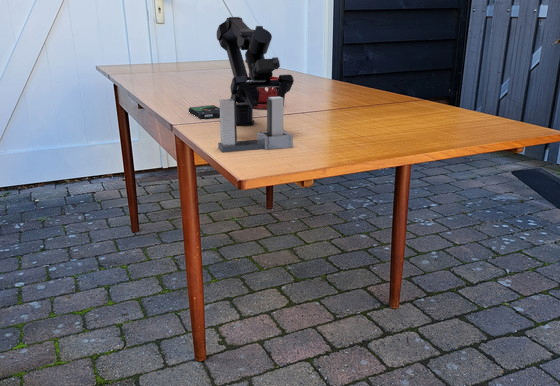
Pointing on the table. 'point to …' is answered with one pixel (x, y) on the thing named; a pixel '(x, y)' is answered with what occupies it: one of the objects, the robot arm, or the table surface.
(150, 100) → the table surface
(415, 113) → the table surface
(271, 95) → the plant pot
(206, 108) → the disk drive
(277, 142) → the grey l-shaped stand
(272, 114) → the tall grey pillar
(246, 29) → the robot arm
